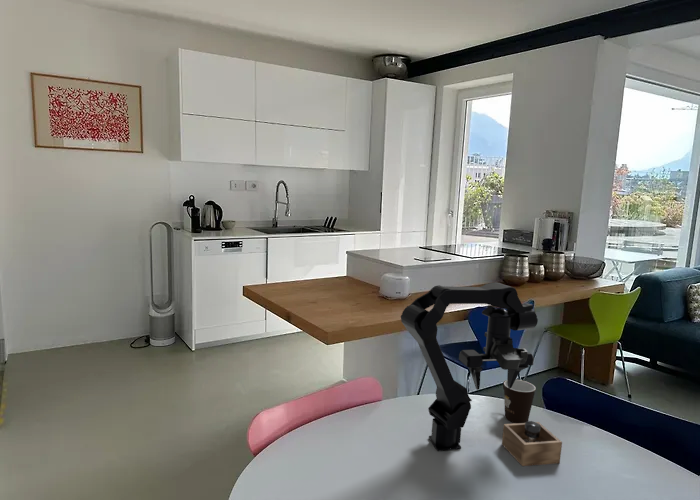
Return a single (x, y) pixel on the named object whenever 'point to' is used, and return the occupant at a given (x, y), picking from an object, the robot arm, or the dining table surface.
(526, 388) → the coffee mug
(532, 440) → the plunger
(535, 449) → the wooden square tray
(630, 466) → the dining table surface
